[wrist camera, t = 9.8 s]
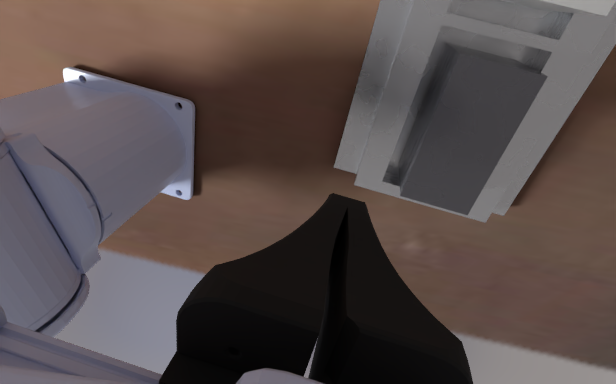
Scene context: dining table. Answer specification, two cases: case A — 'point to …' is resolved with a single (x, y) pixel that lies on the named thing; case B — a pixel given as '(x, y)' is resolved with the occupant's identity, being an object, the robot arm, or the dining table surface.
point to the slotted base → (466, 98)
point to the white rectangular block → (569, 5)
